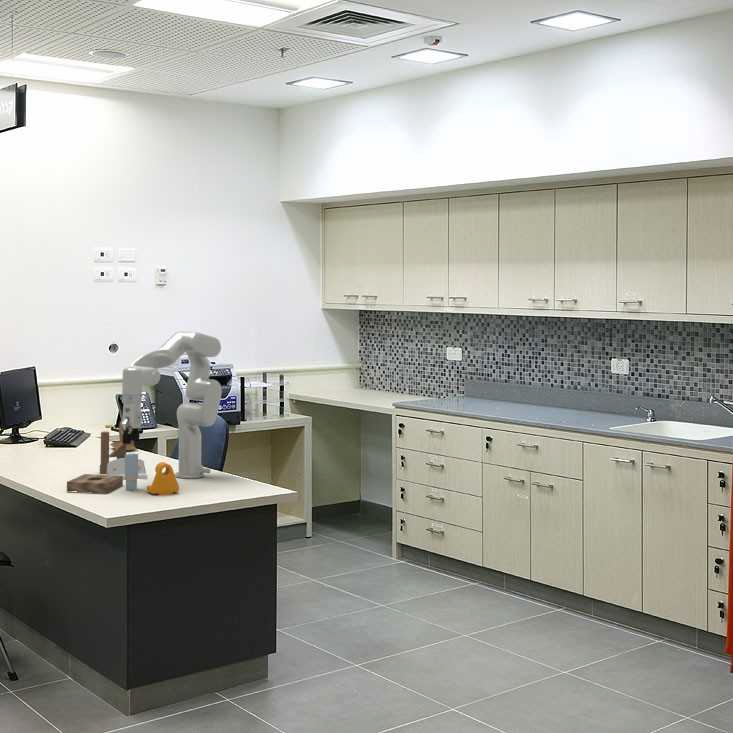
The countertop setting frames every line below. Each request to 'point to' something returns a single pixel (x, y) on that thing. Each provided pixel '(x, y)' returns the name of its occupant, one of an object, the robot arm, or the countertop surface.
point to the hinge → (118, 468)
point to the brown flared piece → (116, 444)
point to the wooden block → (118, 452)
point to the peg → (131, 471)
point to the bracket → (163, 481)
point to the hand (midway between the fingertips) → (130, 442)
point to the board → (95, 483)
